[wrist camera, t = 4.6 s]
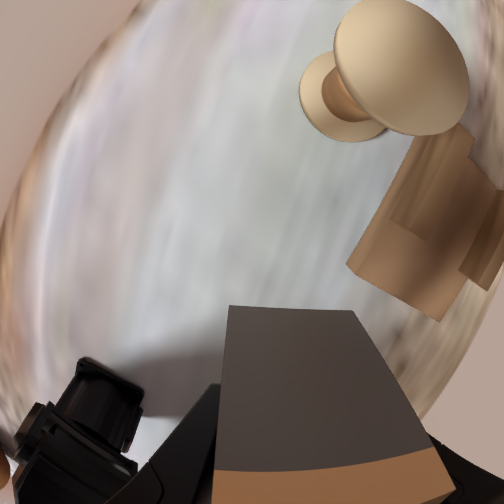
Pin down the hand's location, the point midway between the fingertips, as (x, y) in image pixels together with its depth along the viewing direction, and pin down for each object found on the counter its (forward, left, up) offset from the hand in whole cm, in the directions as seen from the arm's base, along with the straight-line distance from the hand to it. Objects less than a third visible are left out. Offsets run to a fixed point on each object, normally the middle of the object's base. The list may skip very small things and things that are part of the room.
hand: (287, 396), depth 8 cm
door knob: (0, +12, -12) cm, 17 cm away
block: (0, 0, -1) cm, 1 cm away
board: (+10, +8, -12) cm, 17 cm away
